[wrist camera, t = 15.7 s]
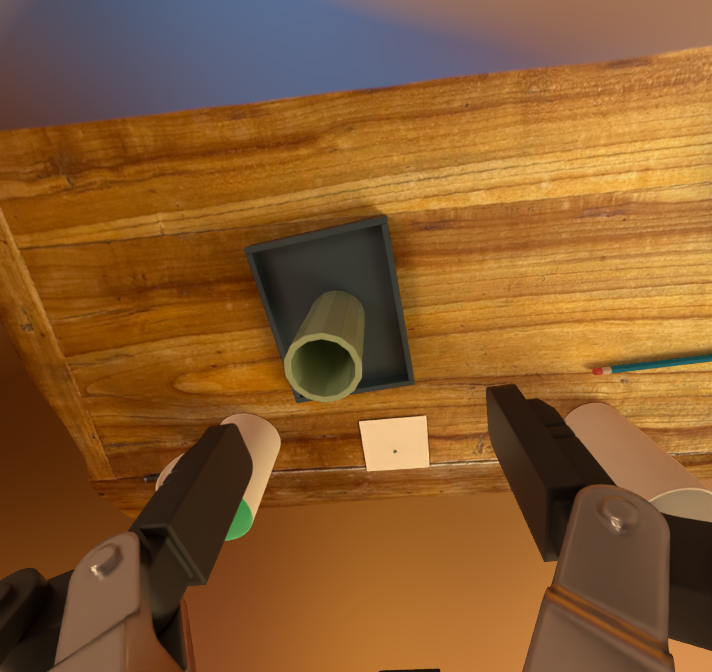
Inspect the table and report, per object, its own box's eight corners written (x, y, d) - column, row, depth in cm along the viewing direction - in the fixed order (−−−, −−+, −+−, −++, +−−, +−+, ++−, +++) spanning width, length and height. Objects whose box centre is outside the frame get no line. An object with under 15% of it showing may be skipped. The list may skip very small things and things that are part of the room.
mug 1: (200, 468, 44) (152, 544, 34) (178, 419, 41) (119, 489, 31) (287, 461, 42) (262, 538, 33) (271, 410, 39) (239, 479, 30)
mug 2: (622, 394, 36) (730, 482, 25) (619, 441, 39) (716, 539, 28) (528, 410, 38) (591, 500, 27) (530, 454, 40) (590, 553, 29)
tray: (251, 244, 32) (243, 248, 30) (385, 214, 30) (386, 215, 28) (300, 392, 38) (296, 403, 36) (413, 374, 37) (415, 384, 35)
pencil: (592, 367, 35) (596, 370, 34) (772, 345, 33) (779, 348, 32) (591, 373, 35) (595, 376, 35) (769, 352, 33) (777, 355, 33)
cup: (303, 296, 33) (273, 341, 23) (359, 285, 32) (353, 326, 22) (318, 345, 35) (295, 407, 25) (370, 336, 34) (369, 395, 24)
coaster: (426, 415, 38) (427, 419, 38) (429, 467, 42) (430, 471, 41) (358, 421, 39) (358, 425, 39) (367, 471, 42) (367, 476, 42)
